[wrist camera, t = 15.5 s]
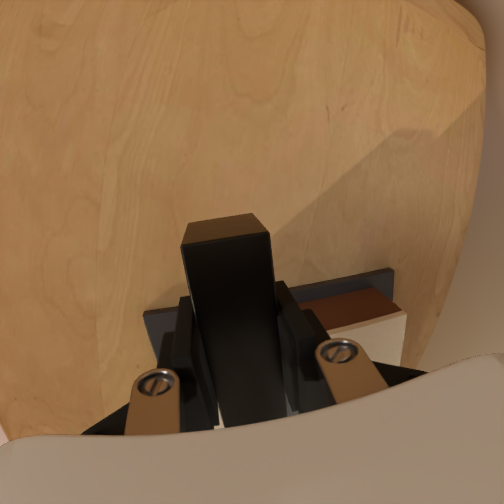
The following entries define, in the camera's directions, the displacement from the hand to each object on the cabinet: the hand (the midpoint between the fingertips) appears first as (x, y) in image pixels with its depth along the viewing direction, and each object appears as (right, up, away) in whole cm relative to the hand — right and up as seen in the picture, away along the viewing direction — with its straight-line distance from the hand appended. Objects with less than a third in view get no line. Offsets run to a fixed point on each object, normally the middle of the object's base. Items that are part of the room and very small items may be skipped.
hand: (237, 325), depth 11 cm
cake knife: (+1, -5, +2) cm, 5 cm away
